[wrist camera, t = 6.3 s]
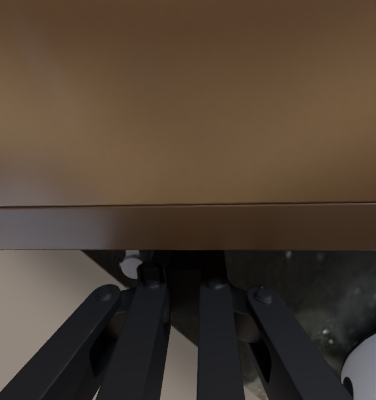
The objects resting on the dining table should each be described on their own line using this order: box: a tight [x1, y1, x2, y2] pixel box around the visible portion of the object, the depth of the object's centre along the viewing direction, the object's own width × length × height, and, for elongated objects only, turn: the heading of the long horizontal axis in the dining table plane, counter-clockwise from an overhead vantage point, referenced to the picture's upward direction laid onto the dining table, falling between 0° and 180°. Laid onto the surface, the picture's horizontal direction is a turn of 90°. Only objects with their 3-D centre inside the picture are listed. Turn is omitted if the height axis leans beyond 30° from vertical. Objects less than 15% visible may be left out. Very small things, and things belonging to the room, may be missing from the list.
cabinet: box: [0, 0, 376, 251], centre depth 12 cm, size 14×20×13 cm
